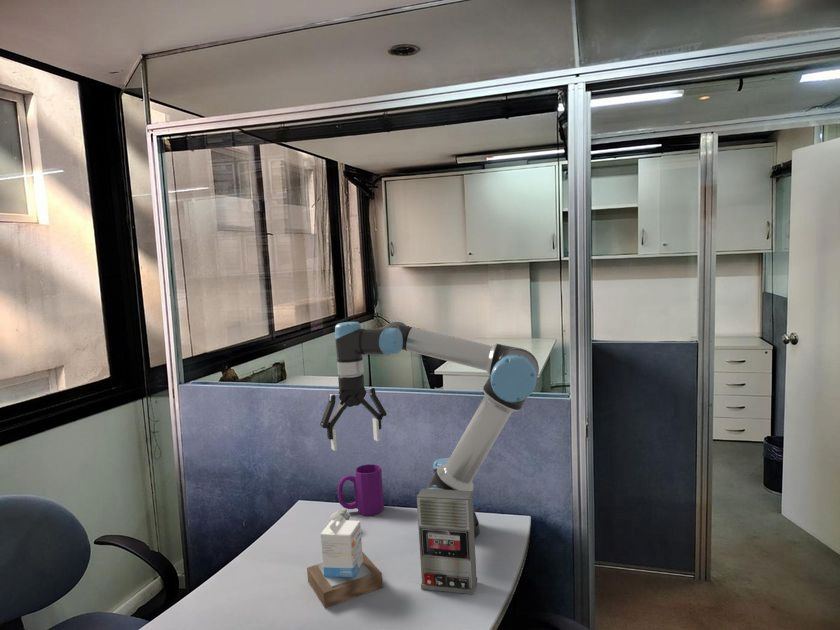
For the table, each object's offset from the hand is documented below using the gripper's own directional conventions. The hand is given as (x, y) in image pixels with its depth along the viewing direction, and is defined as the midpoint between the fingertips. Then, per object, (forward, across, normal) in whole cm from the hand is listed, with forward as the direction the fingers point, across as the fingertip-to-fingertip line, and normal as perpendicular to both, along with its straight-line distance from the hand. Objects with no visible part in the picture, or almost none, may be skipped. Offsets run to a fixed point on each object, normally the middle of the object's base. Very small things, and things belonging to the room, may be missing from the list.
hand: (355, 445), depth 167 cm
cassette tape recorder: (+32, -11, +32) cm, 47 cm away
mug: (+32, -9, -23) cm, 40 cm away
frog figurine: (+32, +2, -14) cm, 35 cm away
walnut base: (+32, +12, +16) cm, 37 cm away
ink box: (+28, +12, +16) cm, 34 cm away
